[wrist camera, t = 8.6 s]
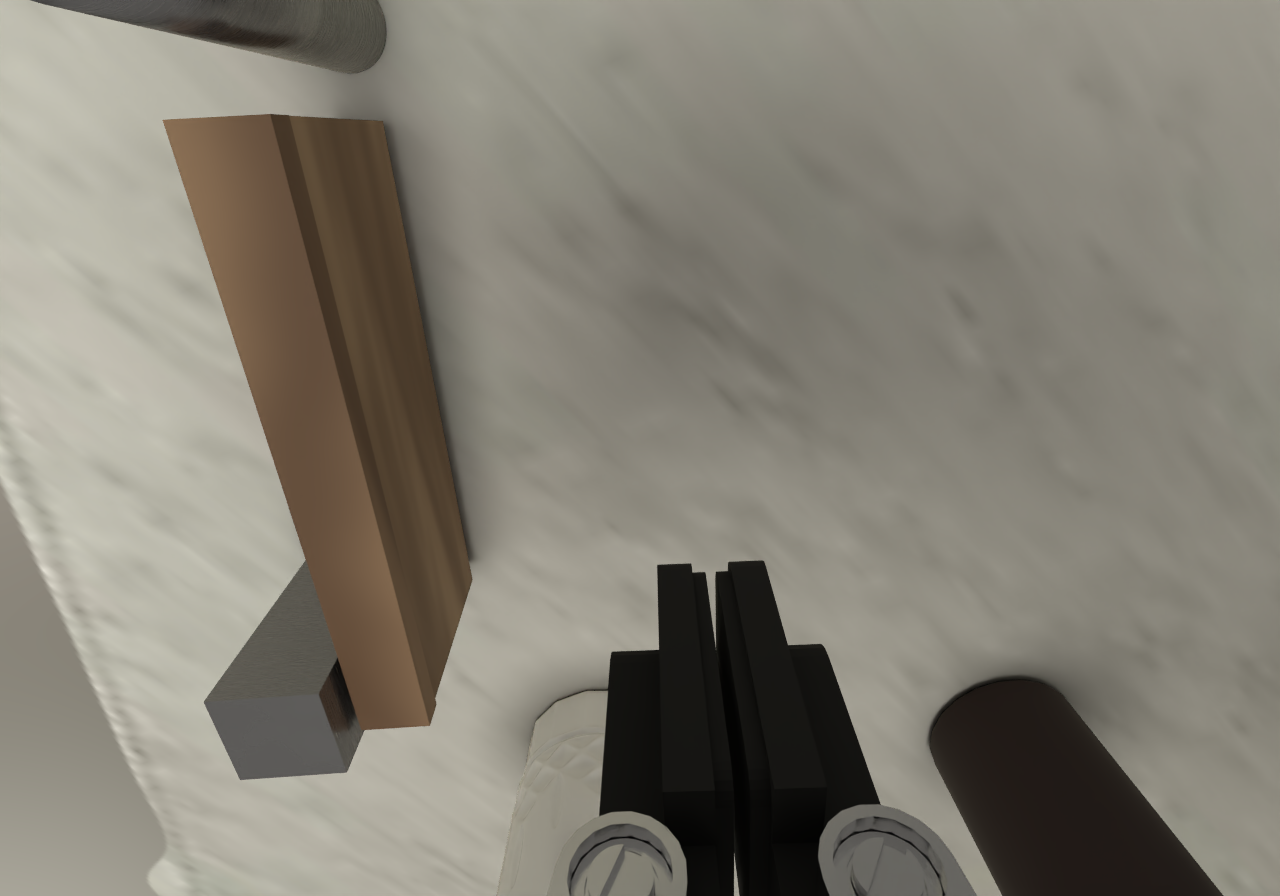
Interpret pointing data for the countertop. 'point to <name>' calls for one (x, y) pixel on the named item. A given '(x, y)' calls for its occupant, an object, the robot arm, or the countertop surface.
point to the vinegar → (1054, 801)
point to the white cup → (555, 791)
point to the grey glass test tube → (261, 26)
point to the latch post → (287, 694)
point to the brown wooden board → (339, 385)
